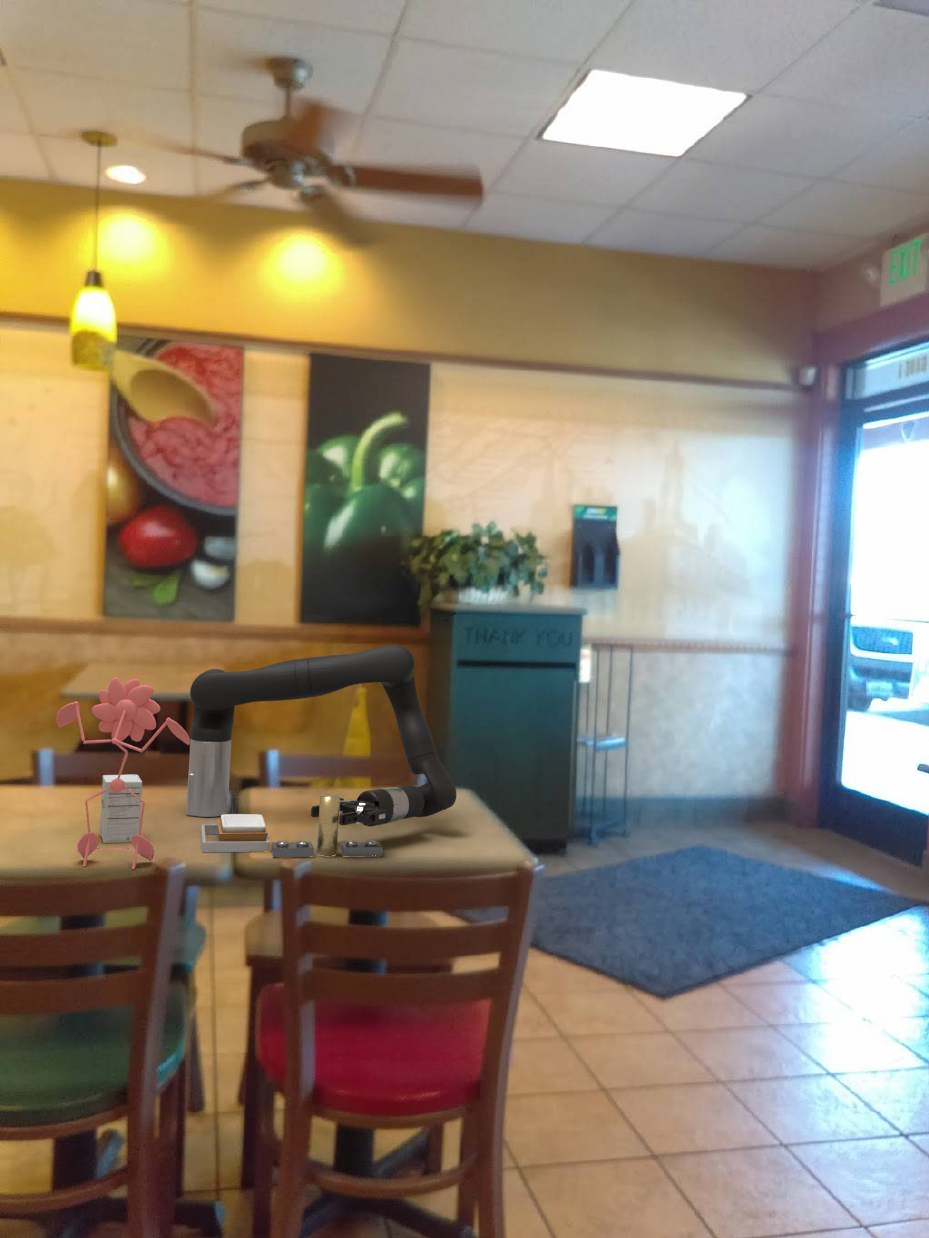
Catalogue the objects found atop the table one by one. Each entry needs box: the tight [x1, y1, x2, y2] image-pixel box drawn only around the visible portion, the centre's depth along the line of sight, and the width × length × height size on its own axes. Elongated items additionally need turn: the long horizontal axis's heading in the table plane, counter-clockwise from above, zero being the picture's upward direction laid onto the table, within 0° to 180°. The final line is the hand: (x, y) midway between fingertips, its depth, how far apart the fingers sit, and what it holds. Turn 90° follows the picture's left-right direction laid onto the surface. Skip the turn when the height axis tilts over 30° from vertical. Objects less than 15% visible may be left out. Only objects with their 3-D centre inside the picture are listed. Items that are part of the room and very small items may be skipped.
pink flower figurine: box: [55, 677, 191, 870], centre depth 204 cm, size 15×26×35 cm, turn 91°
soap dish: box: [217, 813, 269, 842], centre depth 221 cm, size 12×10×5 cm
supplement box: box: [99, 774, 143, 844], centre depth 219 cm, size 7×7×13 cm
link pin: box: [316, 793, 341, 856], centre depth 216 cm, size 4×4×12 cm
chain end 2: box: [339, 839, 383, 857], centre depth 218 cm, size 8×4×3 cm, turn 105°
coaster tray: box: [200, 823, 270, 853], centre depth 221 cm, size 13×15×2 cm
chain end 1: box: [270, 840, 315, 858], centre depth 214 cm, size 8×4×3 cm, turn 105°
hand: (326, 815), depth 215 cm, fingers open, 8 cm apart
